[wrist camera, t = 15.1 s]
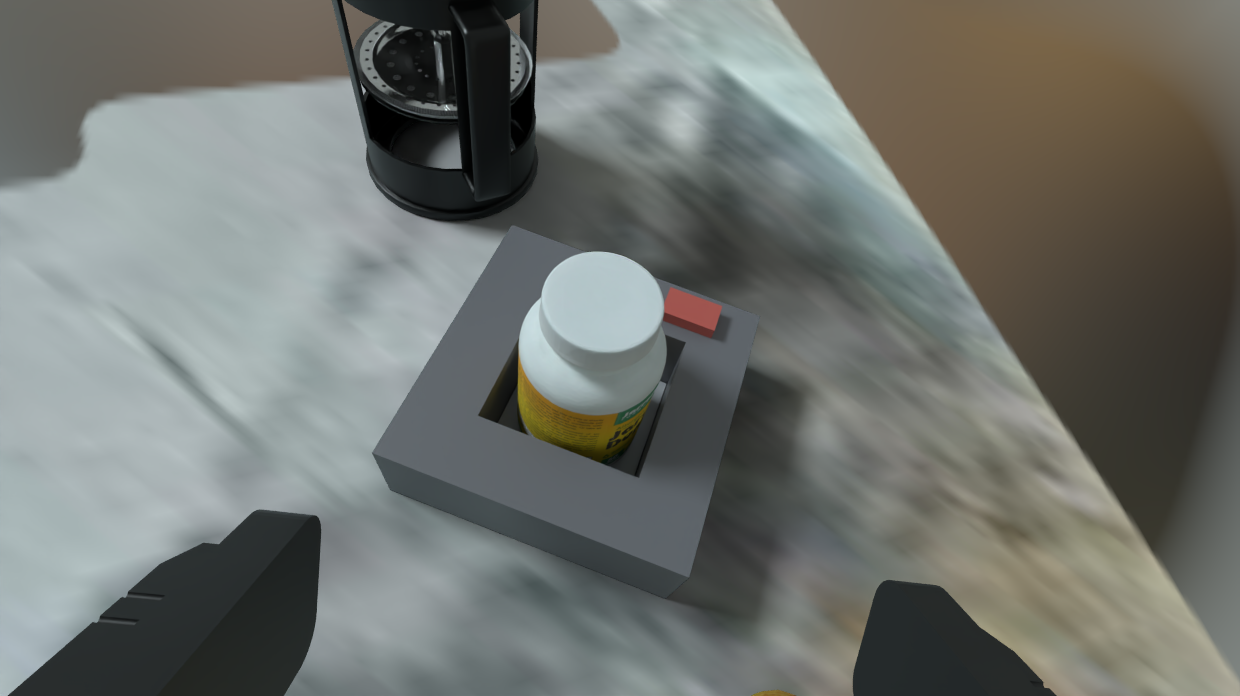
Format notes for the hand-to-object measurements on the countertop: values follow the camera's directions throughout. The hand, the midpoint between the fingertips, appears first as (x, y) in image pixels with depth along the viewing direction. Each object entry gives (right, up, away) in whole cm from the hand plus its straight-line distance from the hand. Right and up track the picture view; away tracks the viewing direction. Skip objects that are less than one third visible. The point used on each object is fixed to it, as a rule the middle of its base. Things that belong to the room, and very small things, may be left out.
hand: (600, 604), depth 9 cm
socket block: (-2, 0, +20) cm, 20 cm away
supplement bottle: (-2, 0, +19) cm, 20 cm away
